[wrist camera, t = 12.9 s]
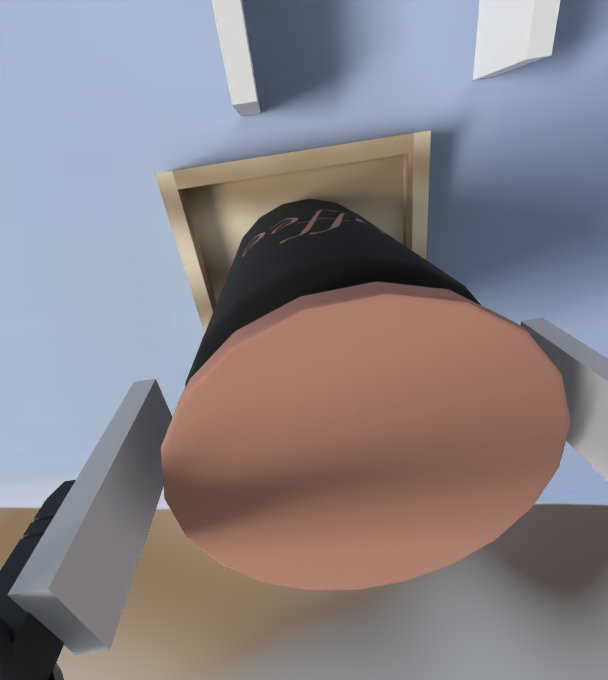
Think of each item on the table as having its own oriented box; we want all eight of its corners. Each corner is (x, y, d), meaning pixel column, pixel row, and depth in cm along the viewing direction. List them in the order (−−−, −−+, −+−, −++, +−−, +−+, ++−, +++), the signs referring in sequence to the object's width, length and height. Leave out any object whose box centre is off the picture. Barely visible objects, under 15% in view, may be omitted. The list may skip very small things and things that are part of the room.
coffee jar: (404, 223, 24) (671, 357, 8) (351, 353, 28) (449, 603, 12) (252, 174, 21) (191, 221, 6) (221, 323, 26) (139, 579, 10)
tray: (166, 171, 22) (154, 173, 20) (415, 132, 22) (431, 130, 20) (227, 377, 29) (224, 395, 27) (411, 348, 29) (422, 363, 27)
